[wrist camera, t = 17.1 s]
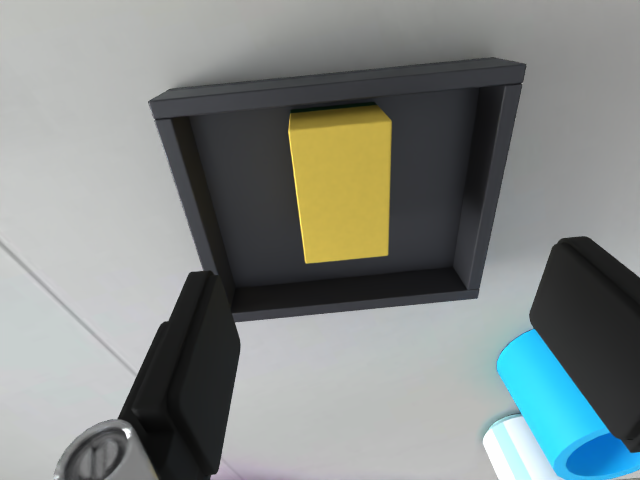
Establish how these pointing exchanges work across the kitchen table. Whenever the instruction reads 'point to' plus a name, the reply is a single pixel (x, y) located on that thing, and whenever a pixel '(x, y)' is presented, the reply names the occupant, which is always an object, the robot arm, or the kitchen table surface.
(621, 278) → the robot arm
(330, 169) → the sponge
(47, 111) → the kitchen table surface
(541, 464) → the can
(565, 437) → the mug
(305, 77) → the tray
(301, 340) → the kitchen table surface
